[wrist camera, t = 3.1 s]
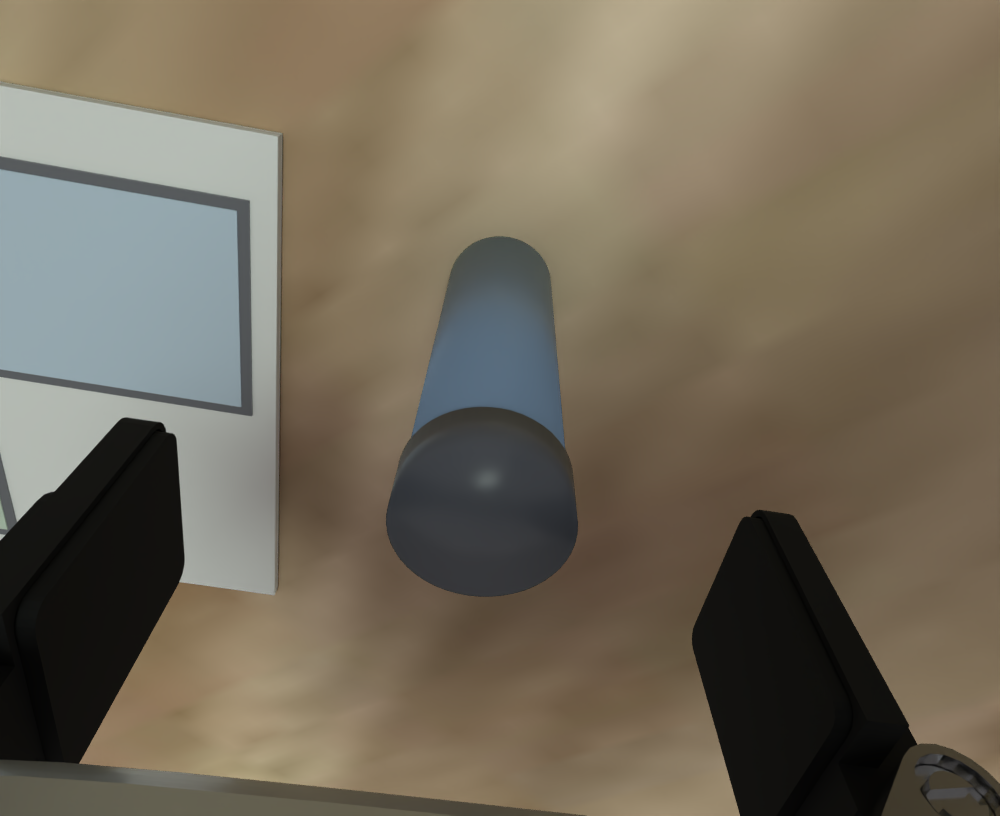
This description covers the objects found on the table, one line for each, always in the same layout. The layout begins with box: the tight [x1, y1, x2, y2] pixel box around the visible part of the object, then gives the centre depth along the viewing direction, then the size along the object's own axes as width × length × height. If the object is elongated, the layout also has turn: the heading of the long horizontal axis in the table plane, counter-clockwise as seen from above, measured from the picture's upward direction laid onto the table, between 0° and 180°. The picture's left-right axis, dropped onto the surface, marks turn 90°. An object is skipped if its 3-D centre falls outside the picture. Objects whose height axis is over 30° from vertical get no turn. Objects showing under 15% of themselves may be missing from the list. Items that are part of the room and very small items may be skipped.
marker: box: [386, 237, 578, 597], centre depth 15 cm, size 3×3×10 cm
